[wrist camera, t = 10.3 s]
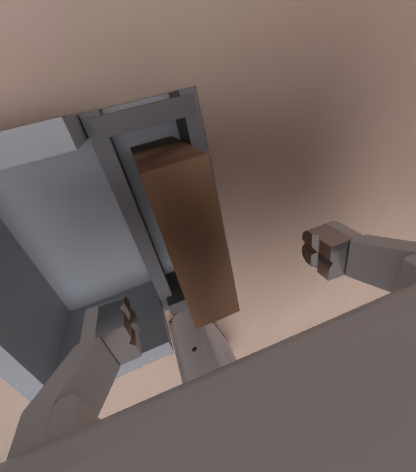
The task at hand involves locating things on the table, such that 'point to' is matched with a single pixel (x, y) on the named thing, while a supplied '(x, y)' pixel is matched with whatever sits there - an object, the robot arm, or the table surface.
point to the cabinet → (84, 232)
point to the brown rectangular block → (189, 224)
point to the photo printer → (198, 347)
